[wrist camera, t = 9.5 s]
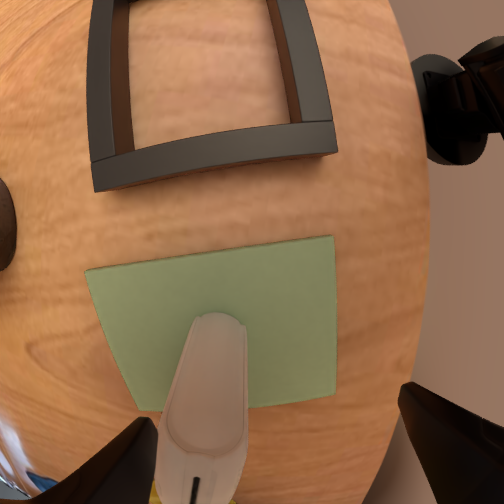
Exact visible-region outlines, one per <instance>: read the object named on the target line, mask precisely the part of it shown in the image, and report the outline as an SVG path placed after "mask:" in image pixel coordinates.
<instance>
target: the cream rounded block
mask: <svg viewBox="0 0 504 504" xmlns="http://www.w3.org/2000/svg"><path fill="white" fill-rule="evenodd" d="M157 431H158V446H157V458H156V469H155V474H154V478H155V486H156V491H157V494H158V496H159V498H160V501H161V502H162V504H228V503H229V502H230V500H231V499H232V497H233V495H234V493H235V490H236V488H237V486H238V483H239V480H240V477H241V475H242V471H243V468H244V464H245V460H246V456H247V450H248V355H247V330H246V326H245V325H241V324H240V322H239V321H238V320H237V319H235V318H234V317H232V316H230V315H228V314H224V313H220V312H212V313H207V314H204V315H203V316H202V317H199V316H196V318H195V319H194V321H193V323H192V325H191V327H190V330H189V333H188V336H187V339H186V342H185V345H184V348H183V351H182V354H181V357H180V360H179V363H178V366H177V369H176V372H175V375H174V378H173V382H172V385H171V388H170V391H169V394H168V397H167V400H166V403H165V406H164V409H163V412H162V415H161V418H160V421H159V424H158V428H157Z"/></svg>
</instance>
